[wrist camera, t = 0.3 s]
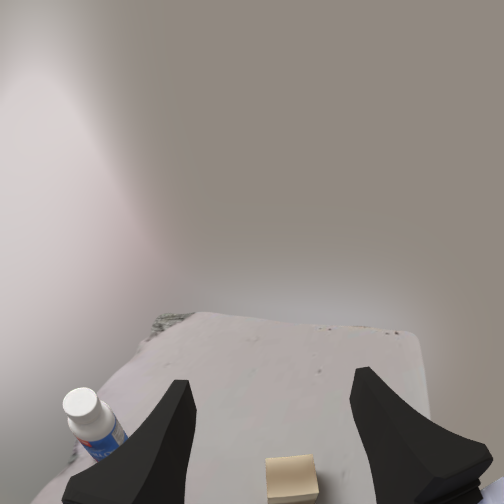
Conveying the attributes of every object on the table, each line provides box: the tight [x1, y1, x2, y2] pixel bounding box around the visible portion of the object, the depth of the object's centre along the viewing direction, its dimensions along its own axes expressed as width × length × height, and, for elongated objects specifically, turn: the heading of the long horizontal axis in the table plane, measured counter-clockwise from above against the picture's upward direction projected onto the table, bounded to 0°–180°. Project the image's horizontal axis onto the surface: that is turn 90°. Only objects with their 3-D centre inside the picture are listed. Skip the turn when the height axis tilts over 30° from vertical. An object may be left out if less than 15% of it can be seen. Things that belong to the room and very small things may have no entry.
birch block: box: [266, 454, 319, 504], centre depth 23 cm, size 4×4×4 cm
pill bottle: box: [63, 388, 128, 462], centre depth 25 cm, size 6×5×10 cm
